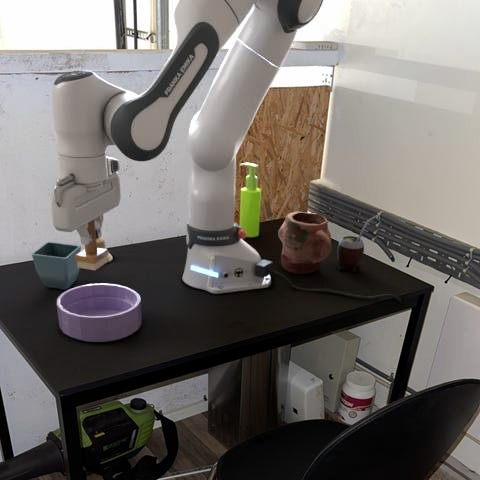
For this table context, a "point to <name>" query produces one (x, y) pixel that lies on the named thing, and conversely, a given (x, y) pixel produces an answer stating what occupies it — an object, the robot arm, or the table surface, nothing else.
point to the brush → (91, 252)
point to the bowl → (99, 312)
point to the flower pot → (57, 264)
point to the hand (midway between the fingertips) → (91, 240)
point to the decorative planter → (304, 242)
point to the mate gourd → (351, 250)
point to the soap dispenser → (250, 203)
